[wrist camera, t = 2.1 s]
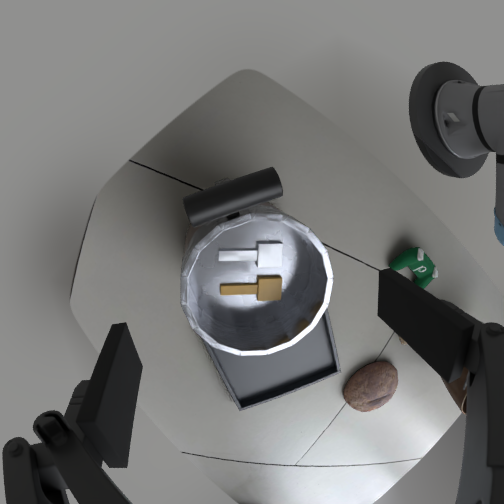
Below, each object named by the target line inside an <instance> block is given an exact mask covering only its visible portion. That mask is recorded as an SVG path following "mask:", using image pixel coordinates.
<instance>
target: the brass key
mask: <svg viewBox="0 0 504 504" xmlns="http://www.w3.org/2000/svg"><path fill="white" fill-rule="evenodd" d="M281 292H282V277H281V276H280V277H258V283H257V284H233V285H220V295H250V294H257V301H273V300H281Z"/></svg>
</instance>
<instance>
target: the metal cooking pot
mask: <svg viewBox="0 0 504 504" xmlns="http://www.w3.org/2000/svg"><path fill="white" fill-rule="evenodd" d="M282 195H283V189H282V185H281V181H280V178H279V176H278V174H277V172H276V170H275V169H274V168H273V167H270V168H267V169H264V170H261V171H258V172H255V173H252V174H249V175H246V176H243V177H240V178H237V179H234V180H230V179H229V178H225V179H222V180H220V181H217V182H215V186H214V187H211V188H208V189H205V190H203V191H200V192H197V193H194V194H192V195H189V196H186V197H184V198H183V204H184V207H185V210H186V213H187V216H188V219H189V221H190V223H191V225H192V227H197V226H199V225H202V224H203V225H202V226H201V227H200V228H199V229H198V230H197V231H196V232H195V233H194V235H193V237H192V238H191V240H190V242H189V244H188V246H187V249H186V252H185V254H184V256H183V259H182V268H181V306H182V309H183V311H184V313H185V315H186V317H187V319H188V321H189V323H190V325H191V327H192V329H193V331H195V332H196V333H197V334H198V335H199V336H200V337H202V338H203V339H204V340H205V341H206V342H208V343H209V344H210V345H211V346H212V347H214V348H217V349H220V350H223V351H226V352H229V353H232V354H235V355H238V356H239V355H240V356H254V355H269V354H271V353H274V352H277V351H279V350H282V349H285V348H287V347H290V346H292V345H294V344H295V343H297V342H298V341H299V340H300V339H302V338H303V337H304V336H305V335H306V334H308V333H309V332H310V331H311V330H312V329H314V327H315V326H316V325H317V323H318V321H319V320H320V318H321V316H322V315H323V313H324V311H325V310H326V308H327V306H328V303H329V301H330V295H331V290H332V284H333V277H334V276H333V272H332V267H331V263H330V259H329V254H328V251H327V249H326V248H325V247H324V245H323V244H322V243H321V241H320V240H319V239H318V238H317V236H316V235H315V234H314V232H313V231H312V230H311V229H310V228H309V227H307V226H306V225H304V224H303V223H301V222H300V221H298V220H296V219H295V218H293V217H291V216H289V215H287V214H285V213H283V212H282V211H280V210H278V209H276V208H274V207H272V206H265V205H258V204H261V203H264V202H267V201H270V200H273V199H275V198H278V197H281V196H282ZM258 242H282V243H283V254H282V267H270V268H257V260H251V261H219V260H218V250H246V249H257V243H258ZM280 276H281V277H282V292H281V300H273V301H257V294H250V295H220V285H233V284H257V283H258V277H280Z"/></svg>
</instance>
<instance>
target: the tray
mask: <svg viewBox="0 0 504 504" xmlns="http://www.w3.org/2000/svg"><path fill="white" fill-rule="evenodd" d="M202 340H203V342H204V344H205V346H206V348H207V350H208V352H209V354H210V356H211V358H212V360H213V362H214V364H215V366H216V368H217V370H218V372H219V374H220V375H221V377H222V379H223V381H224V383H225V385H226V387H227V389H228V391H229V392H230V394H231V396H232V398H233V400H234V402H235V403H236V405H237V407H238V409H239V411H241V410H244V409H247V408H250V407H253V406H256V405H259V404H262V403H265V402H268V401H271V400H273V399H276V398H279V397H282V396H284V395H287V394H290V393H292V392H295V391H297V390H300V389H302V388H305V387H307V386H310V385H312V384H315V383H317V382H320V381H322V380H324V379H327V378H329V377H331V376H334V375H336V374H338V373H340V372H341V370H340V365H339V360H338V355H337V350H336V346H335V341H334V336H333V332H332V327H331V323H330V318H329V314H328V309H327V308H326V310H325V311H324V313H323V315H322V316H321V318H320V320H319V321H318V323H317V325H316V326H315V327H314V329H312V330H311V331H310V332H309V333H308V334H306V335H305V336H304V337H303V338H302V339H300V340H299V341H298V342H297V343H295V344H294V345H292V346H290V347H287V348H285V349H282V350H279V351H277V352H274V353H271V354H269V355H254V356H240V355H239V356H238V355H235V354H232V353H229V352H226V351H223V350H220V349H217V348H214V347H212V346H211V345H210V344H209V343H208V342H206V341H205V340H204V339H203V338H202Z"/></svg>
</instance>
